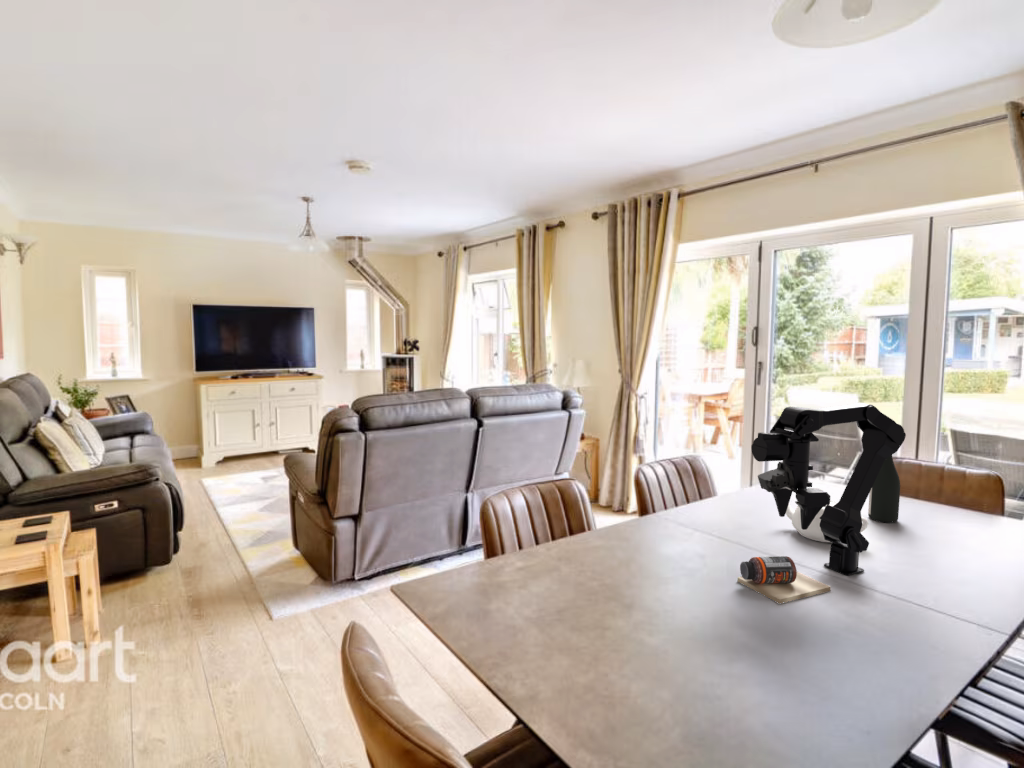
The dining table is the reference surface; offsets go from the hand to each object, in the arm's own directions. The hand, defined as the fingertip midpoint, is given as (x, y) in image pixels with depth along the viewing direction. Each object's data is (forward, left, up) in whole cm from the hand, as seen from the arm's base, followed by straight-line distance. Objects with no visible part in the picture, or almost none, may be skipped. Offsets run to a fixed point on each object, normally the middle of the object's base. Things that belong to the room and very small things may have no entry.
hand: (792, 522), depth 134 cm
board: (+7, +4, -13) cm, 15 cm away
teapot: (-30, -16, -13) cm, 37 cm away
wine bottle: (-62, -18, -13) cm, 66 cm away
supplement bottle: (+5, +5, -9) cm, 11 cm away
